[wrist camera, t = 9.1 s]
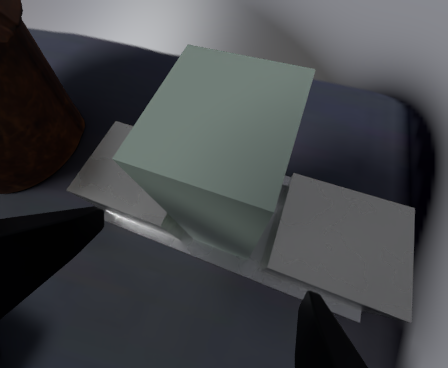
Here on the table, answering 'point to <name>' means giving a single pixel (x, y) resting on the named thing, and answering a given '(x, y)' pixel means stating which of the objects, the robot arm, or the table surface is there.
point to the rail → (283, 237)
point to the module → (218, 144)
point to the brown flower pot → (31, 108)
